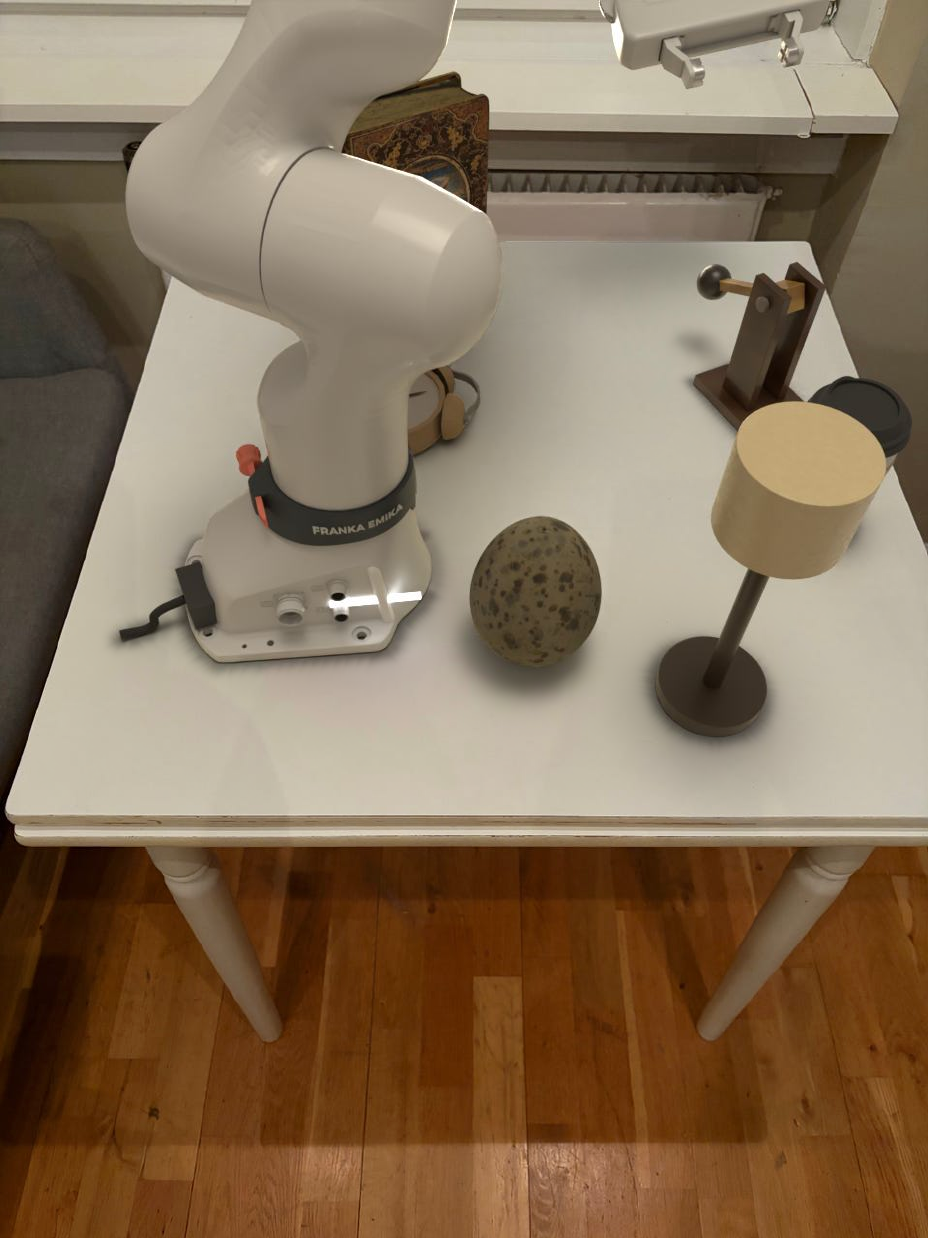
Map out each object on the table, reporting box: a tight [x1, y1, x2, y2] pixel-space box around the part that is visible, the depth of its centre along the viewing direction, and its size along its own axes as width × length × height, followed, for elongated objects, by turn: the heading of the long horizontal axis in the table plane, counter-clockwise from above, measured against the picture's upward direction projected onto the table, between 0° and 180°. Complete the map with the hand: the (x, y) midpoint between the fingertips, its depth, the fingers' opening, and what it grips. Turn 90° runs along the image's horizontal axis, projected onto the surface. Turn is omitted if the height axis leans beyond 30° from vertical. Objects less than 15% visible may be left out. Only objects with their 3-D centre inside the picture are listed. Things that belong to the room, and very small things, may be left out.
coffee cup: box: [806, 375, 913, 477], centre depth 86 cm, size 9×9×15 cm
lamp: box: [654, 401, 886, 738], centre depth 69 cm, size 9×9×28 cm
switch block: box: [692, 261, 827, 431], centre depth 96 cm, size 10×8×15 cm
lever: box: [696, 263, 805, 314], centre depth 96 cm, size 14×4×4 cm, turn 27°
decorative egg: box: [468, 515, 603, 667], centre depth 77 cm, size 11×11×15 cm
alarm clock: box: [408, 364, 481, 455], centre depth 98 cm, size 11×5×15 cm
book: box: [341, 71, 490, 216], centre depth 98 cm, size 16×6×25 cm, turn 122°
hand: (745, 70), depth 87 cm, fingers open, 8 cm apart
